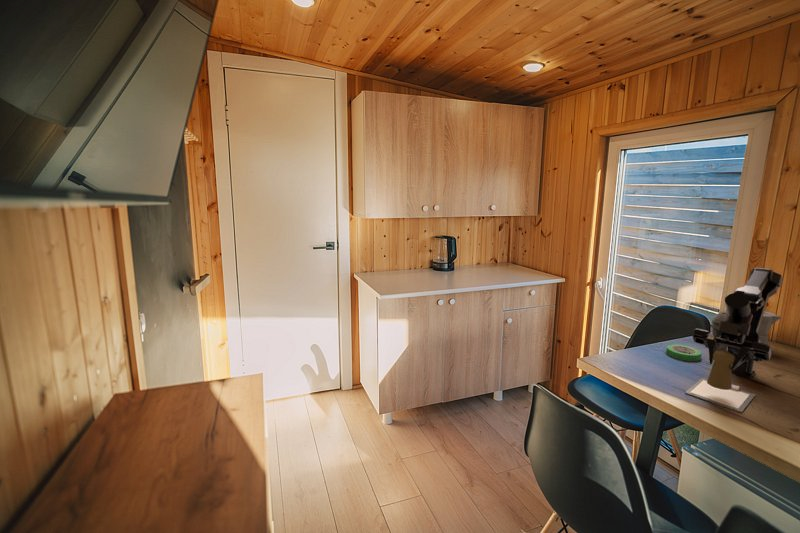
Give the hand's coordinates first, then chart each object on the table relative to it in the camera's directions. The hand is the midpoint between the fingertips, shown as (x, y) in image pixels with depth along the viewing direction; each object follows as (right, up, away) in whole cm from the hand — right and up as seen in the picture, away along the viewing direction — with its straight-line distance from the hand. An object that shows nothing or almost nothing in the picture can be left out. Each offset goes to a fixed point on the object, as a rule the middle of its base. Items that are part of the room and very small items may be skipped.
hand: (721, 366), depth 118 cm
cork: (+1, -6, +2) cm, 7 cm away
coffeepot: (+47, -3, +41) cm, 62 cm away
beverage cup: (+32, -3, +39) cm, 51 cm away
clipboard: (+4, -10, +5) cm, 12 cm away
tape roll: (+13, -5, +34) cm, 37 cm away
